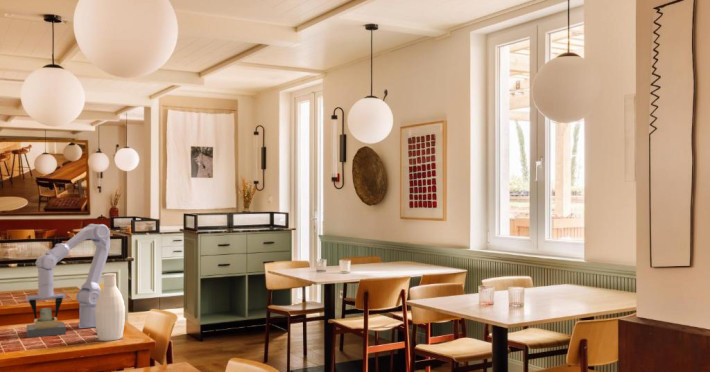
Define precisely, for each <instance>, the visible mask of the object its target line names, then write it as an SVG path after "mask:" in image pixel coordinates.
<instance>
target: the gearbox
mask: <svg viewBox="0 0 710 372" xmlns="http://www.w3.org/2000/svg"><path fill="white" fill-rule="evenodd" d="M33 323H34V324H26V338H36V337H37V338H38V337H50V336H60V335H66V332H67V331H66V329H67V328H66V325H65V321H59V320H58V316H57V317H55V316H54V317H53V316H52V321H41V322H40V318H37V319H35V318H34V320H33Z"/></svg>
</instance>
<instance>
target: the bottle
mask: <svg viewBox="0 0 710 372" xmlns="http://www.w3.org/2000/svg"><path fill="white" fill-rule="evenodd" d="M103 276H104V277H103V287H102V289H101V291H100V295H99V297H98V300H97V303H96V308H95V320H96V327H95V329H96V336H97V339H98V340H99V341H102V342H109V341H110V342H114V341H118V340H121V339H122V338H123V336H124V329H125V322H126V321H125V319H126V317H125V316H126V307H125V301H124V298H123V295H122V293H121V291H120V290H119V288H118V286H117V273H115V272H112V273H104V274H103Z"/></svg>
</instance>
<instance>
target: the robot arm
mask: <svg viewBox="0 0 710 372" xmlns="http://www.w3.org/2000/svg"><path fill="white" fill-rule="evenodd" d="M110 235H111V230H110V228H109V227H108V226H107V225H106V224H103V223H101V224H99V223H97V224H95V223H89V224H87V226H85V227H83V228H82V229H81V230H80V231H78V232H77V233H76V234H75V235H73V237H71V238H70V239H69V240H67V241H66V242H65V243H63V242H61V243H56V244H54V247H53V248H52V249H50V250H49V251H48V250H47V251H46V252H45V254H42V255H39V256H37V259H36V261H35V266H36V267H37V269H38V270H37V275H38V276H37V277H38V279H37V281H38V282H37V288H38V289H37V292H38V293H37V294H33V295H26V296H25V301H26V302H29V305H30V307H31V309H32V312H33V316H34V319H38V318H37V317H38V316H37V301H47V300H55V302H54V303H55V304H54V305H55V308H54V309H55V310H54V317H57V318H58V314H59V310H60V307H61V305H62V304H63V299H64V300H65V299H66V293H54V268H55V267H56V266H57V263H58V262H61V260H63V259H64V258H66V257H67V256H68V255H70V251H71V250H72V249H73V248H75V247H76V246H78V245H80V244H81V243H82V242H84V241H86V240H91V241H92V242H93V244H94V245H95V246H96V247H95V248H96V249H95V252H94V255H93V258H92V261H91V264H90V268H89V271H88V275H87V278H86V281H85V282H84V283H83V284H82V285H81V287H80V289H79V291H78V292H77V293H76V301H77V302H78V304H79V309H78V310H79V323H78V324H77V327H78V329H85V328H87V329H88V328H96V320H95V308H96V303H97V300H98V297H99V295H100V293H101V291H102V289H101V287H100V282H101V279H102V275H103V272H104V268H105V266H106V262H107V259H108V255H109V252H110V249H111V245H112V244H111V236H110Z"/></svg>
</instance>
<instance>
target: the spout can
mask: <svg viewBox="0 0 710 372" xmlns="http://www.w3.org/2000/svg"><path fill="white" fill-rule="evenodd" d="M52 315H53V309H52V307H43V308H39V319H40V322H41V321H52V318H53V316H52Z"/></svg>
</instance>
